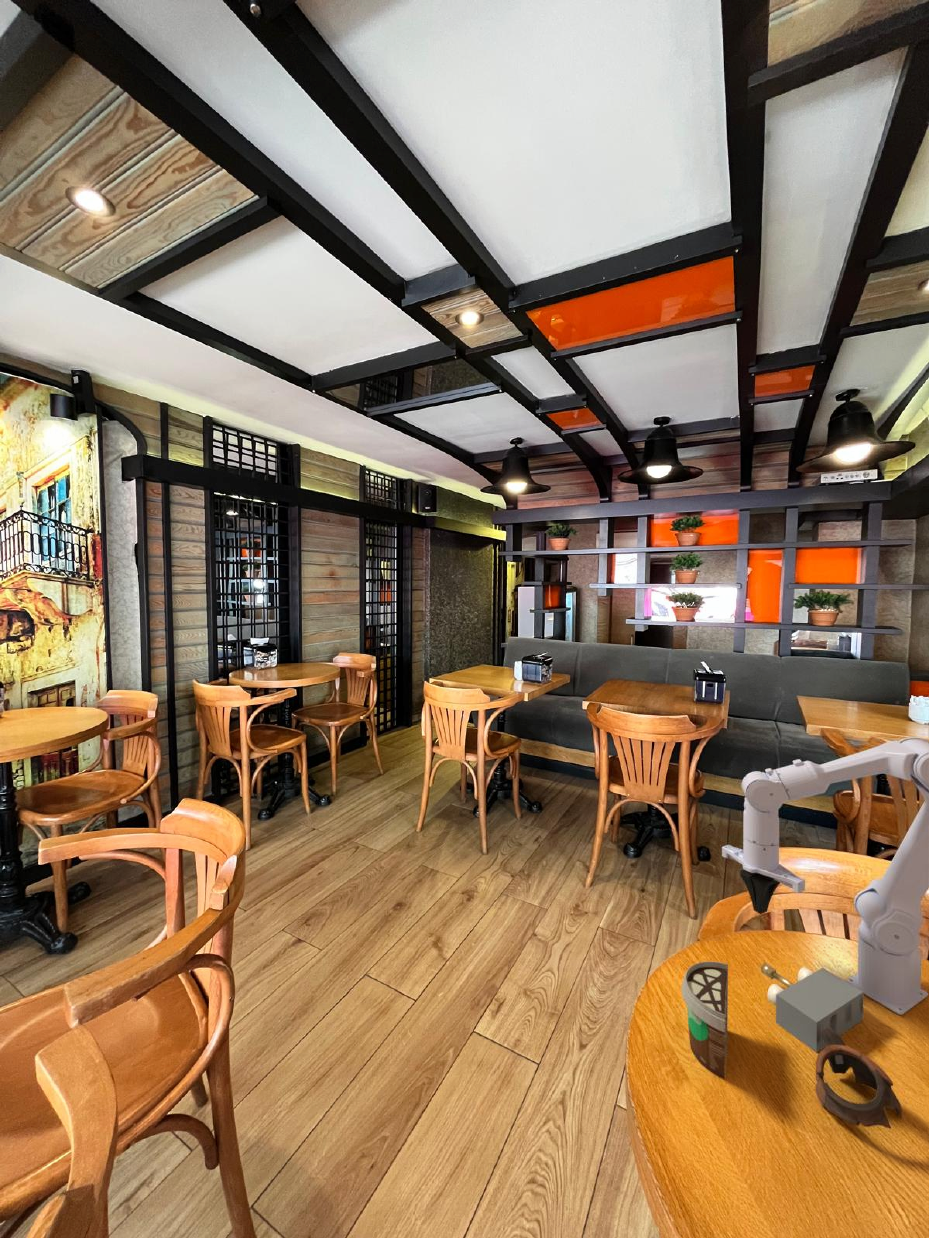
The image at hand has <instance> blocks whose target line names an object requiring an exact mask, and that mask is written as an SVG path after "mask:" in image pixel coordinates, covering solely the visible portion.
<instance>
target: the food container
mask: <svg viewBox="0 0 929 1238" xmlns="http://www.w3.org/2000/svg"><path fill="white" fill-rule="evenodd" d="M728 976H729V964H727V963H724V962H720V961H711V960H709V961H706V960H705V961H700V962H697V963H694V964H692V965H691V966H689V968H688V969H687V970H686V972H685V974H684V977H683V980H682V983H681V994H682V998H683V1001H684V1003H685V1004H686V1008H687V1009H686V1010H687V1011H686V1012H687V1023H688V1035H689V1037H688V1038H689V1047H690V1050H691V1052H692V1054H693V1055H694V1057H695V1058H696V1060H697V1061H698V1063H700V1064H701V1066H703V1067H704V1068H705V1069H706V1070H708V1072H710V1073H711V1074H713V1075H715V1076H716V1077H718V1078H720V1079H723V1080H726V1065H727V1063H726V1062H727V1047H728V1043H727V1042H728V1017H729V1016H728V1014H729V1013H728V1004H729V1003H728V1002H729V1001H728V997H729V995H728V994H729V993H728V992H729V991H728V990H729V989H728V988H729V987H728V986H729V980H728V979H729V977H728Z"/></svg>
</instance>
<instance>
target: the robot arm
mask: <svg viewBox="0 0 929 1238" xmlns="http://www.w3.org/2000/svg"><path fill="white" fill-rule="evenodd" d="M764 770H765V772H764V771H762V772H761V771H760V770H759V771H758V770H757V771H756V770H755V771H752V772H749V773H747V774H746V775H745V776H744V777H743V778H742V782H740V787H741V790H742V792H743V794H744V795H745V797H744V802H743V807H744V810H743V831H742V833H743V835H742V836H743V838H742V839H743V841H742V842H743V843H742V844H743V845H742V846H743V849H742V848H738V847H736V846H735V847H734V846H732V845H731V844H727V845H723V846H722V847H721V856H722V857H723V858H725V859H731V860H733V861H735V862H737V863H739V864H741V865H742V869H741V870H739V876H740V877H741V879H742V880H743V882H744V885H745V887H746V889H747V891H748V894H749V896H750V897H749V898H750V901H751V905H752V908H753V911H755V913H757V914H760V915H762V914H765V913H767V912H768V910H769V905H770V903H771V900H772V897H773V895H774V893H775V892H776V889H777V888H778V887H779V885H780V884H782V885H784V886H787V887H788V888H790V889H792V891H793V892H794V893H796V894H800V893H803V892H804V891H806V879H804V878H802V877H800V876H798V875H797V874H795V873H794V872H792V871H790V870H789V869H788V868H786V867H785V866H783V865H782V864H780V817H779V809H780V808H781V807H782V805H783V804H784V803H786V802H787V803H788V802H793V801H796V800H802V799H805V798H808V797H813V796H817V795H821V794H825V793H826V791H827V790H828V788H829V786H830V785H831V784H834V783H835V784H836V783H840V782H844V781H845V782H846V781H851V780H855V779H862V778H866V777H870V776H871V777H872V776H877V775H881V774H885V775H888V776H891V777H894V778H898V779H902V780H905V781H909V782H911V781H913V783H914V784H915V786H916V788H917V789H918V791H919V792H920V794H921V796H922V797H923V799H924V802H923V804H922V806H921V807H920V809H919V810H918V812H917V814H916V816H915V818H914V819H913V822H912V823H911V825H910V827H909V829H908V831H907V833H906V834H905V837H904V838H903V840H902V842H901V843H900V845H899V847H898V849H897V851H896V853H895V854H894V857H893V858H892V859H891V862H890V864H889V865H888V867H887V869H886V870H885V873H884V874H883V876H882V877H880V878H876V879H872V880H871V881H870V883H869V885H868V886H867V887H866V888H864V889H862V890H861V891H859V892H858V893H857V894H856V895H855V897H854V899H853V905H854V909H855V911H856V913H857V915H859V916H860V918H861V922H860V924H859V926H858V929H857V973H855V974H854V975H853V976H850V977H849V978H848V979H846V980H845V981H846V982H848V983H850V984H851V985H853V986H855V987H856V988H858V989H860V990H861V991H863V995H865V996H867V997H869V998H870V999H873V1000H874V1001H875V1002H877V1003H879V1004H880V1005H882V1006H884V1007H886V1008H887V1009H888V1010H890V1011H893V1012H894V1013H895V1014H897V1015H901V1016H903V1015H904V1014H906V1013H907V1012H908V1011H909V1010H911V1009H912V1008H914V1007H915V1006H916V1005H918V1004H919V1003H920V1002H921V1001H923V1000H924V999H926V998H927V997H928V996H929V993H928V992H927V991H926V990H924V989H922V954H921V952H920V949H919V947H920V944H921V939H920V930H921V927H922V925H923V923H924V917H923V912H922V911H923V909H922V901H923V899H924V897H925V895H926V893H927V892H928V890H929V741H927V740H925V739H923V738H921V737H913V736H912V737H905V738H901V739H900V740H899V741H898V740H890V741H886V742H884V743H882V744H880V745H878V746H874V747H872V748H869V749H866V750H863V751H858V752H856V753H853V754H850V755H847V756H844V757H840V758H837V759H834V760H831V761H828V762H825V763H822V764H820V763H815V762H812V761H810V760H805V761H802V760H801V759H798V758H797V759H795V760H792V764H789V765H786V766H783V767H778V768H776V769H772V768H771V767H770V768H766V769H764Z"/></svg>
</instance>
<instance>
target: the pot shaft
mask: <svg viewBox="0 0 929 1238" xmlns="http://www.w3.org/2000/svg"><path fill="white" fill-rule="evenodd" d="M776 969H777V968H774V967H773V966H771V965H770V964H768V963H766V962H764V963H762V965H761V967H760V972H761V974H762V975H764V976H766V977H768V978H769V979H771V980H776V981H778V982H779V983H781V984H782V985H784V986H785V987H786V988H788V987H790V986H792V985H794V984H795V983H793V982H792V981H790V980H789V979H787V978H785V977H784V976H782V975H781V974H779V973H778V972H777V970H776Z"/></svg>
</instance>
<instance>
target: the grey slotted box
mask: <svg viewBox="0 0 929 1238" xmlns="http://www.w3.org/2000/svg"><path fill="white" fill-rule="evenodd" d="M813 972H814V973H813V974H811V975H809V976H807V977H806V978H804V979H802V980H801V981H799V982H798V981H797V982H795V983H793V984H794V985H792V986H790V987H786V988H785V989H784V990H783V991H781V992H780V993H778V994H776V1005H775V1006H776V1007H775V1023H776V1024H777V1025H779V1027H781V1028H782V1029H784V1030H786V1031H787V1032H788V1033H789V1034H790V1035H792V1036H793V1037H795V1038H796V1039H798V1040H799V1041H800V1042H801V1043H803V1044H804V1045H806V1046H807V1047H808V1048H810V1049H811V1050H812V1051H814V1052H815V1053H818V1052H819V1051H820V1050H821V1051H822V1050H823V1049H824V1048H826V1045H825V1042H824V1040H823V1038H822V1036H821V1030H822V1029H823V1028H827V1027H830V1028H833V1029H834V1031H835V1032H836V1033H837V1034H838V1035H839V1036H840V1037H841V1036H842V1035H844V1034H845V1033H846V1032H848V1031H850V1030H851V1029H852V1028H854V1027H855V1026H857V1025H858V1024H859V1023H861V1022H862V1021H864V993H863V991H861V990H860V989H858V988H856V987H855V986H853V985H851V984H850V983H848V982H846V980H845V979H842V978H841V977H839V976H838V975H836V974H834V973H833V972H831V971H829V970H827V969H826V968H824V967H822V968H819V969H818V970H817V971H813Z"/></svg>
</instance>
